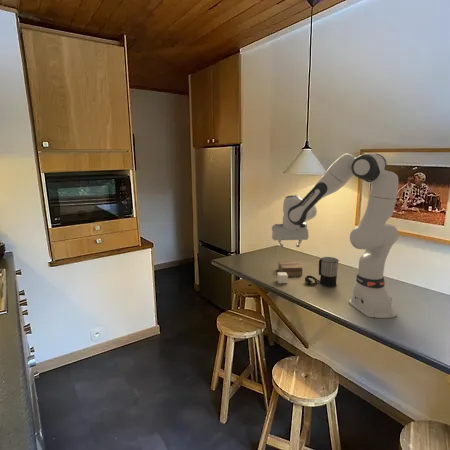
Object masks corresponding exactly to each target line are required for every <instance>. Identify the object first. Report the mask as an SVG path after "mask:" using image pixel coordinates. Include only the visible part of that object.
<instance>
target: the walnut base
mask: <svg viewBox="0 0 450 450" xmlns="http://www.w3.org/2000/svg"><path fill="white" fill-rule="evenodd" d="M277 266H278V267H277V269H279V270H278V272H286V273H287V275H288V277H302V276H303V266H302V265H301V264H300V263H299V262H298V261H278V265H277Z"/></svg>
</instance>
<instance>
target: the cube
mask: <svg viewBox="0 0 450 450" xmlns="http://www.w3.org/2000/svg"><path fill="white" fill-rule="evenodd" d="M276 274H277V275H276V282H277V283H278V284H279V283H289V282H288V281H289V280H288V279H289V276H288V275H287V273H286V272H280V271H278V272H276Z"/></svg>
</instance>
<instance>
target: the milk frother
mask: <svg viewBox="0 0 450 450" xmlns="http://www.w3.org/2000/svg"><path fill="white" fill-rule="evenodd" d="M318 260H319V261H318V276H320V279H317V278H316V277H315V276H312V275H306V276H305V277H304V282H305V283H306V284H307V285H310V286H316V285H317V283H318V282H319V285H321V286H322V287H325V288H335V287H337V279H338V268H339V267H338V266H339V262H340V260H339V259H338V258H337V257H332V256H331V257H330V256H323V257H321V258H320V259H318ZM311 279H312V280H311ZM313 281H314V282H313Z"/></svg>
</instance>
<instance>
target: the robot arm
mask: <svg viewBox="0 0 450 450" xmlns="http://www.w3.org/2000/svg"><path fill="white" fill-rule="evenodd" d="M353 176H355V177H356V178H358V179H359V180H362V181H365V182H366V183H370V190H369V195H368V201H367V206H366V209H365V212H364V214H363V216H362V218H361V220H360V221H359V223H358V224H357V226H355V228H354V229H352V231H351V232H350V234H349V242H350V244H351V246H352V247H353V248H355V249H357V250H363V251H364V250H365V251H364V252H363V254H361V255H360V257H359V259H358V269H357V273H356V277H355V278H356V281H355V284H354V285H353V286H352V290H351V298H350V299H348V300H347V301H348V304H349V305H351V306H352V307H354V308H355V309H357V310H358V311H359V312H360V313H362V314H363V315H364V316H366V317H369V318H374V317H375V319H376V318H377V319H389V318H391V319H392V318H394V317H395V318H396V317H397V316H398V315H397V312H396V311H395V310H394V308H393V307H392V301H393V297H392V296H389V294H388V290H387V289H386V287H385V285H386V282H385V276H384V272H385V265H386V260H387V258H388V255H389V253H390V251H391V249H392V246H393V245H394V244H396V242H397V241H398V239H399V236H400V235H399V231H398V228H397V227H396V226H394V225H392V224H388V223H387V221H388V220H389V219H391V217H392V216H393V215H394V211H395V206H396V202H397V197H398V192H399V176H398V174H396V173H395V172H394V171H389V170H387V160H386V158H385V157H384V155H381V154H379V153H372V152H371V153H363V154H360V155H358V156H357V157H356V156H354V155H353V154H350V153H343V154H342V155H340V156H339V157H338V158H337V159H336V160H335V161H333V163H332V164H331V165H330V166H329V167H328V169H326V171H324V173H323V175H322V176H321V177H320V179H319V180H318V181H317V182H316V183H315V185H314V186H313V188H312V189H311V190H310V191H309V192H307V194H306V195H305V196H304V197H303V198H301V197H300V196H299V195H298V194H292V195H287V196H285V197H284V200H283V205H282V212H283V216H282V223H274V224H273V225H272V226H271V231H272V233H271V239H272V240H273V241H277V242H278V243H279V248H284V244H283V243H282V241H298V242H297V243H296V245H295V246H296V248H300V247H301V246H300V245H301V243H302V241H306V240H308V239H309V229H308V224H307V223H306V222H308V221H310V220H312V219H314V218H315V217H316V216H317V212H318V210H317V207H316V204H318V202H319V201H321V200H322V199H323V198H326V197H328V196H329V195H332V194H333V193H336V192H337V191H339V190H340V189H342V188H343V187H344V186H345V185H346V184H347V183H348V182H349V181H350V179H351V178H353Z"/></svg>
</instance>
